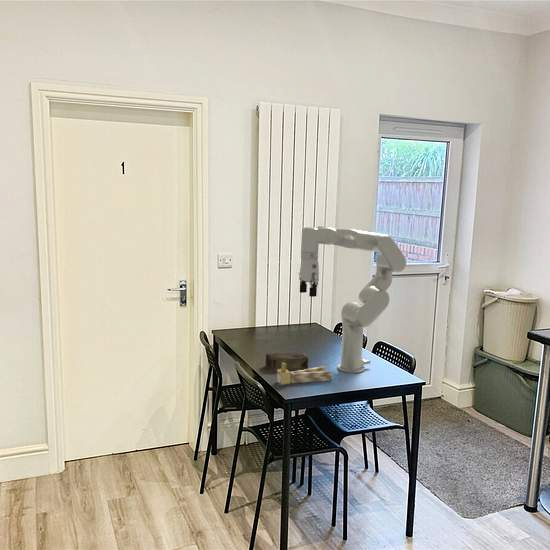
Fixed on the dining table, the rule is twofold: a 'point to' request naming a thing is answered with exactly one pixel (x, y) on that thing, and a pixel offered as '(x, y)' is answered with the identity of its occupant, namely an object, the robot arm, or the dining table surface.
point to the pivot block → (279, 378)
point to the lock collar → (284, 374)
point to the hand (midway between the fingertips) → (307, 294)
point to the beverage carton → (286, 361)
